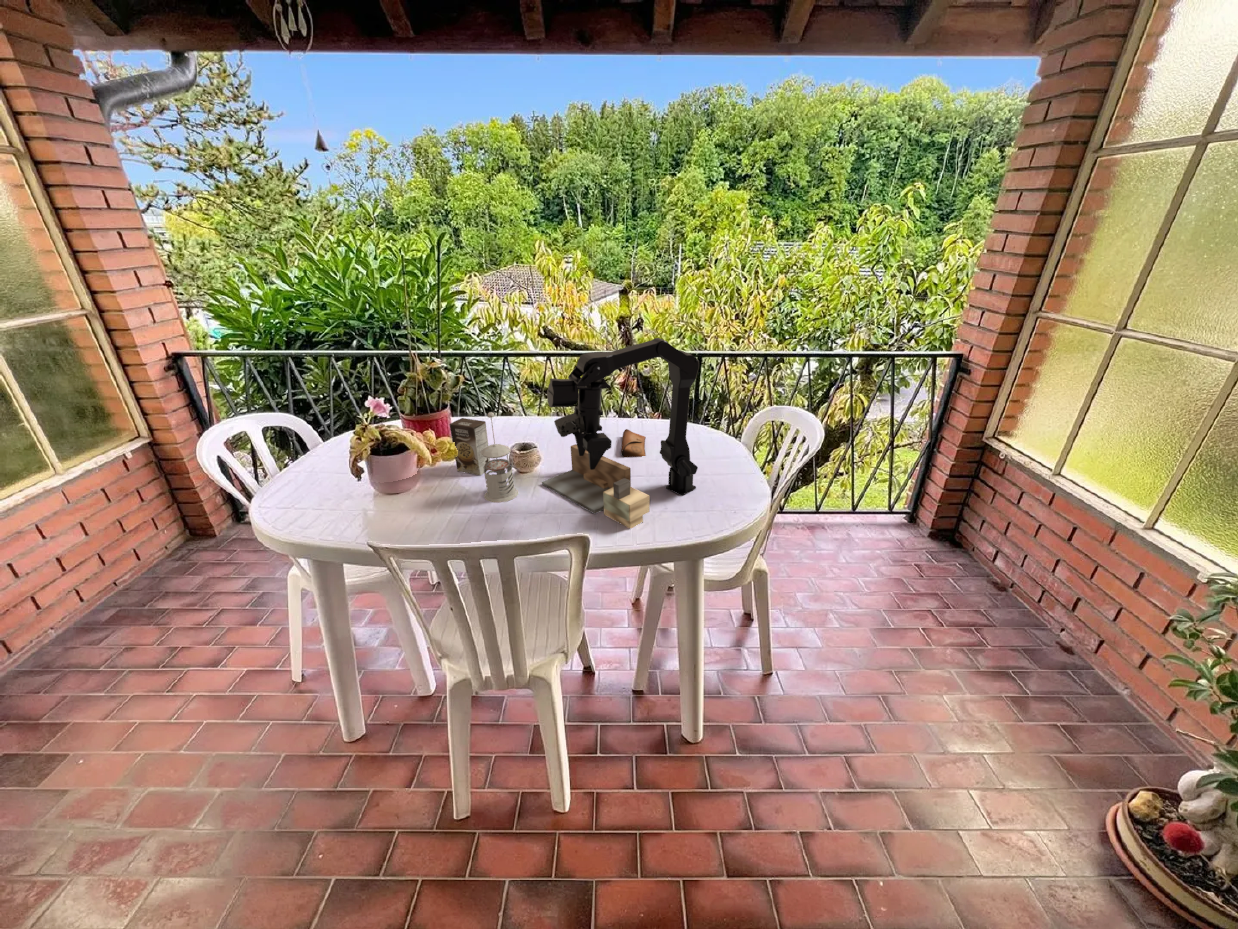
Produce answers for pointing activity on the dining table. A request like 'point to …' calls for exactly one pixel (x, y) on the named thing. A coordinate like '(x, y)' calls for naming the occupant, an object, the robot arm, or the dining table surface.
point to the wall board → (588, 480)
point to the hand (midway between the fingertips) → (586, 462)
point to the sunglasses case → (632, 444)
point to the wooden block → (625, 503)
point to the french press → (498, 473)
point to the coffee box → (470, 445)
